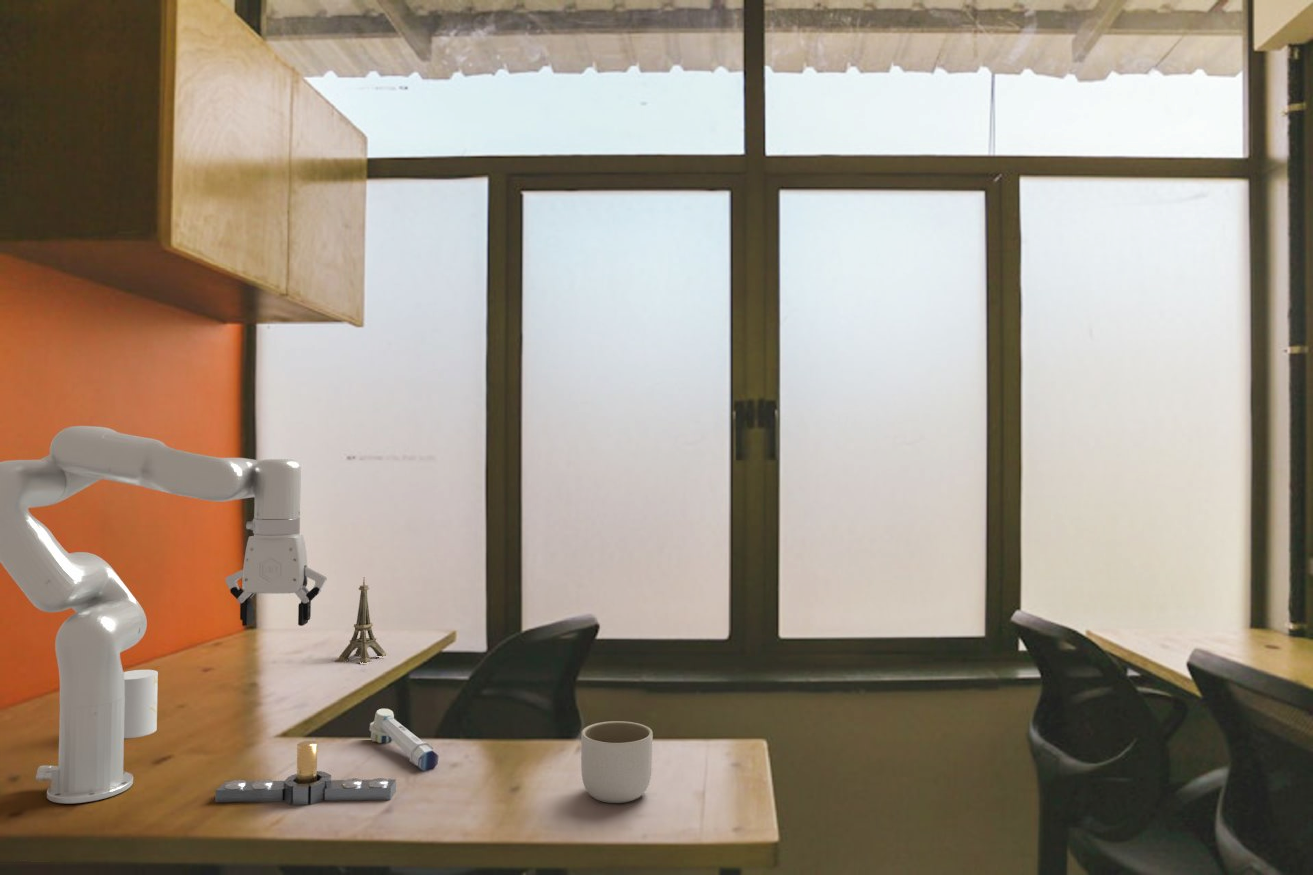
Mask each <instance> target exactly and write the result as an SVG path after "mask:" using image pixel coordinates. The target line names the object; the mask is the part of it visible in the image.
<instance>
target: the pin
mask: <svg viewBox="0 0 1313 875" xmlns="http://www.w3.org/2000/svg"><path fill="white" fill-rule="evenodd" d="M296 747H297V748H296V774H297V784H309V783H313V782H316V781H317V771H318V741H315V740H306V741H301V742H299V743H297V746H296Z"/></svg>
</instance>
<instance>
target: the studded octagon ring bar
mask: <svg viewBox="0 0 1313 875" xmlns="http://www.w3.org/2000/svg"><path fill="white" fill-rule="evenodd" d="M396 791H397V779H395V778H394V779H393V778H391V779H390V778H389V779H388V778H385V777H384V778H383V777H378V778H373V779H362V778H348V779H347V778H346V779H332V774H329V773H328V772H326V771H322V770H317V781H316V782H313V783H309V784H297V773H294V774H291V775H290V776H288V777H286V778H285V780H272V779H268V778H267V779H259V780H244V779H234V780H230V781H224V782H223V783H222V784H221V785H219V786H218V788H216V790H215V796H214V797H215V799H214V800H215V803H252V802H255V803H257V802H258V803H260V802H261V803H263V802H264V803H265V802H266V803H267V802H269V803H271V802H283V801H284V802H285V803H287V804H289V805H292V806H299V805H300V806H307V805H309V804H310V805H313V804H316V803H320V802H323V801H324V802H329V801H332V802H333V801H334V802H335V801H341V802H343V801H389V800H390V801H391V800H392V798H393V797H394V795H395V793H396Z"/></svg>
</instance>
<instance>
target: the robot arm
mask: <svg viewBox="0 0 1313 875" xmlns="http://www.w3.org/2000/svg"><path fill="white" fill-rule="evenodd" d="M301 472H302V468H301V465H300V463H299V462H298V461H297V460H294V459H283V458H281V459H280V458H279V459H278V458H277V459H276V458H275V459H274V458H273V459H262V460H261V459H260V460H259V459H253V458H245V457H216V456H210V455H204V454H199V453H193V452H188V451H185V450H179V449H175V448H172V447H169V446H167V445H166V444H165V442H163V441H161V440H158V439H155V438H149V437H143V436H138V435H134V434H133V435H132V434H127V433H122V432H118V431H116V430H115V429H112V428H109V427H104V426H92V425H76V426H75V425H74V426H69V427H66V428H64V429H62V430H60V432H57V434H56V435H55V436H54V437H53V439H52V440H51V443H50V446H49V454H48V455H46V456H45V457H42V458H40V459H11V460H3V461H0V563H1V565H2V566H3V568H4V570H6V572H7V573H8V575H9V576H10V577H11V578H12V580H13V581H14V582H15V584H16V585H17V586H18V587H19V589H20V590H21V591H22V593H23V594H24V595H25V596H26V597H27V599H28V601H29V602H30V603H31V604H32V605H33V606H34V607H35V608H37V609H38V610H39V611H42V612H45V613H58V612H59V613H60V612H63V611H66V610H70V609H72V610H73V611H74V612H75V613H73V614H72V615H70V616H69V617H68V618H66V620H64V621H63V623H62V624H61V626H59V628H58V631H57V632H56V635H55V640H54V642H55V644H54V650H55V656H56V661H57V667H58V675H59V676H58V677H59V721H58V722H59V730H58V731H59V732H58V736H59V737H58V765H40V766H39V767H38V768H37V770H36V775H35V780H36V782H46V781H49V782H51V785H50V786H49V787H48V788H47V789H46V798H47V800H49V801H50V802H53V803H57V804H82V803H89V802H95V801H99V800H103V799H104V800H105V799H107V798H111V797H113V796H116V795H118V794H119V795H120V794H121V793H123V792H125V791H127V790H128V789H129V788H131V786H132V785H133V784H134V776H133V774H132V773H130V772H127V771H124V749H125V748H124V747H125V745H124V744H125V738H124V707H125V681H124V673H123V672H124V670H123V666H122V660H121V653H122V652H124V651H126V650H129V649H131V648H132V647H134V646H136V645H137V644H138V643H139V642H140V641H141V640H142V639H143V637H144V636H145V634H146V631H147V626H148V622H147V616H146V613H145V611H144V609H143V607H142V606H141V604H140V603H139V601H138V600H137V599H136V597H135V596H134V595H133V593H132V591H130V590H129V588H128V587H127V585H126V584H125V583H124V581H123V580H122V579H121V577H120V576H119V575H118V574H117V572H116V571H115V569H113V567H112V566H111V565H110V564H109V563H108V562H107V561H105V560H104V559H103V558H102V557H100V556H98V555H97V554H94V553H92V552H91V553H90V552H87V551H85V552H84V551H76V552H70V553H69V552H68V551H67V550H66V549H64V547H63V546H62V545H61V543H60V542H59V541H58V540H57V538H56V537H55V536H54V535H53V533H52V531H50V529H49V528H48V527H47V526H46V525H45V524H43V523H42V522H41V521H40V520H38V519H37V517H35V516H34V515H32V513H31V512H30V511H29V509H31V508H41V507H48V506H52V505H56V504H58V503H61V502H62V501H64V500H66V499H68V498H70V497H72V496H74V495H76V494H77V493H79V492H81V491H83V490H85V489H86V488H88V487H89V486H92V485H93V484H95V483H97V482H99V481H100V480H106V481H111V482H115V483H116V482H117V483H121V484H122V483H123V484H127V485H132V486H138V487H143V488H147V489H149V490H154V491H159V492H163V493H167V494H171V495H176V496H179V497H180V496H181V497H187V498H192V499H197V500H202V501H208V502H209V501H210V502H214V503H215V502H217V503H218V502H220V503H221V502H229V501H236V500H243V499H249V498H254V509H253V511H254V515H253V516H254V517H253V519H252V520H251V521H247V522H246V523H245V524H246V525H245V527H246V529H247V530H251V531H252V534H253V535H252V536H248V539H247V542H246V547H245V552H244V553H245V555H244V559H243V561H244V562H243V567H242V569H241V570H237V572H235V573H233V574H231V575H227V577H225V578H224V581H225V584H226V585H227V587H228V589H229V592H230V594H231V595H233V597H234V598H235V599H236V601H237V602H238V603H239V604H240V605H239V606H240V607H239V620H240V621H241V625H242V626H243V627H246V626H248V625H251V624H252V623H254V601H253V600H252V597H253V596H254V595H255V594H280V595H281V594H295V595H296V596H297V598H298V599H299V600H300V603H298V608H297V609H298V610H297V611H298V612H297V614H298V615H297V616H298V617H297V618H298V620H297V621H298V622H297V625H298V626H300V627H301V626H305V625H306V624H308V623H309V621H310V619H311V612H312V608H311V607H312V601H313V600H314V599H315V597H317V596H318V595H319V594H320V593H321V591H322V589H323V588H324V586H325V584H326V582H327V580H328V579H327V578H328V577H326V576H325V575H322V574H321V573H319V572H318V571H315V570H313V569H312V568H309V567H308V556H307V549H306V543H305V542H306V541H305V539H304V535H301V534H300V532H301V531H300V529H301V486H302V485H301V481H302V479H301V478H302V476H301V475H302V474H301ZM240 579H241V580H242V582H241V585H242V588H241V586H239V584H238V580H240ZM309 579H310V580H312V581H314V586H313V587H312V588H311V590H309V589H308V588H307V586H308V580H309Z"/></svg>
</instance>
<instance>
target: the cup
mask: <svg viewBox="0 0 1313 875" xmlns="http://www.w3.org/2000/svg"><path fill="white" fill-rule="evenodd" d="M123 673H124V681H125V707H124V739H133V738H140V737H146V736H148V735H151V734H153V733H155V732H157V726H158V685H159V684H158V681H159V680H158V678H159V676H158V675H159V672H158V671H157V670H153V669H134V670H128V671H123Z"/></svg>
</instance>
